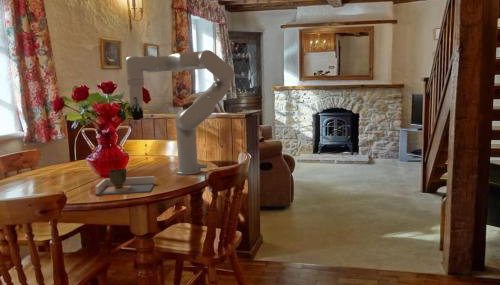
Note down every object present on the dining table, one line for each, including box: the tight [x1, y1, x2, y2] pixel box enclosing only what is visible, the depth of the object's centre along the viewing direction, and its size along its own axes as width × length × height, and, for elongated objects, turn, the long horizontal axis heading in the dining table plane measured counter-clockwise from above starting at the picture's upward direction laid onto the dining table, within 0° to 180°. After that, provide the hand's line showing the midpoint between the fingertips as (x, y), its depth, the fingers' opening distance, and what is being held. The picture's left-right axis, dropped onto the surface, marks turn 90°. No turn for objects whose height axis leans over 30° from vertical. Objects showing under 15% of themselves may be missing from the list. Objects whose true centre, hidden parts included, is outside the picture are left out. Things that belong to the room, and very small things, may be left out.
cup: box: [107, 168, 127, 188], centre depth 186 cm, size 8×7×8 cm
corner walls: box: [94, 175, 156, 195], centre depth 185 cm, size 22×15×3 cm
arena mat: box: [95, 183, 156, 196], centre depth 186 cm, size 22×15×1 cm
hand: (138, 119), depth 207 cm, fingers open, 9 cm apart
